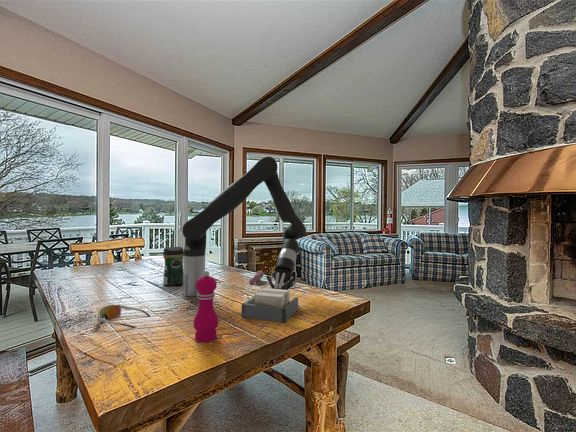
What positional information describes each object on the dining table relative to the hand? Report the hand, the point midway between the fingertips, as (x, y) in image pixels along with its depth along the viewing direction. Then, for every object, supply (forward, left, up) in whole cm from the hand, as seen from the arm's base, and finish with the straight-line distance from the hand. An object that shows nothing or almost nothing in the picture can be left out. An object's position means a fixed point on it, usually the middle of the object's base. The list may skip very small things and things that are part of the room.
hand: (275, 298), depth 124 cm
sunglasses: (-52, +9, -4) cm, 53 cm away
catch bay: (-3, -3, -4) cm, 6 cm away
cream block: (-3, -4, -4) cm, 7 cm away
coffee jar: (-30, +56, -4) cm, 64 cm away
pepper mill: (-30, -16, -4) cm, 34 cm away
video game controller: (+9, +43, -4) cm, 44 cm away
